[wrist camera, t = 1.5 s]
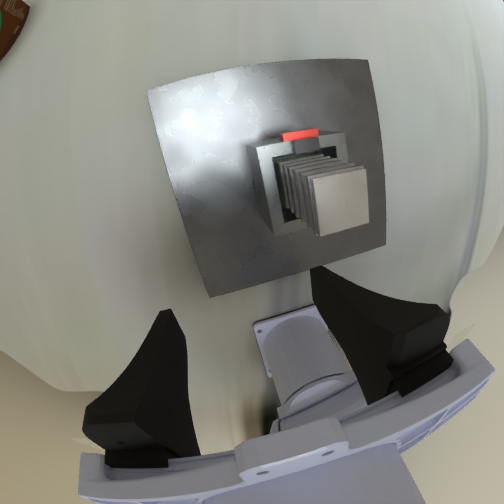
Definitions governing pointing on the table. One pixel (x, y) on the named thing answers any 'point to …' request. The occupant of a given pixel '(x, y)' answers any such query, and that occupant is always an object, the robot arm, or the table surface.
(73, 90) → the table surface
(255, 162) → the stand base
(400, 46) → the table surface
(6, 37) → the food container
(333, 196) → the lift column
